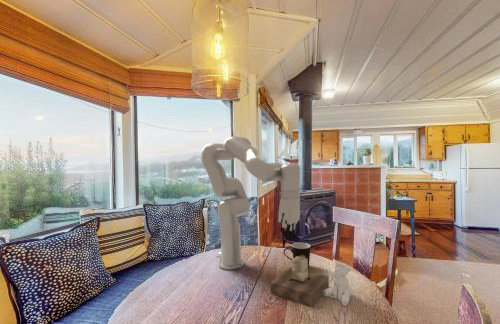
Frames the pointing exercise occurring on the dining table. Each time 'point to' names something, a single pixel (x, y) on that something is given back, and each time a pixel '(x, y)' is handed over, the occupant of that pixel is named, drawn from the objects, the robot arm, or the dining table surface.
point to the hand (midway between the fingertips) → (289, 239)
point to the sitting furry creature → (340, 285)
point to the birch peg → (300, 270)
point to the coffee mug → (300, 251)
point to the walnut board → (300, 287)
